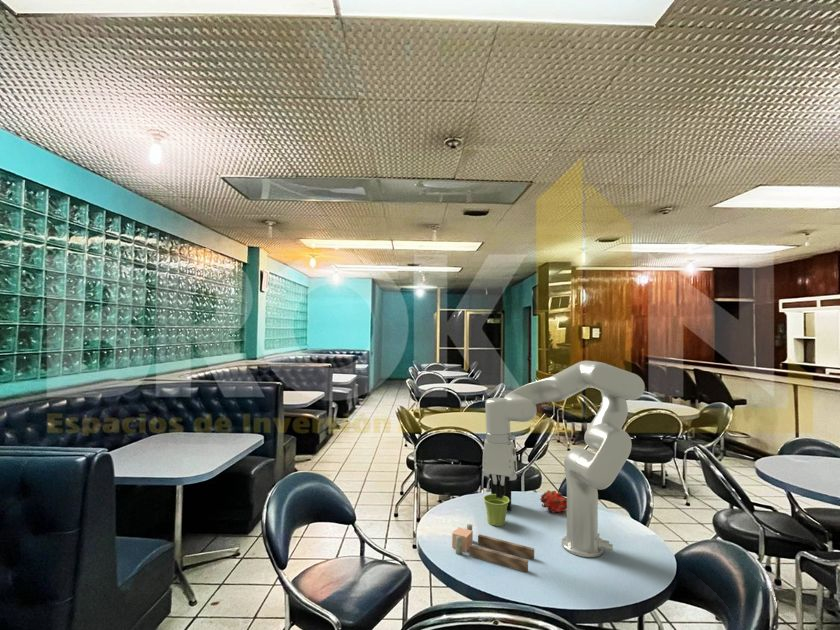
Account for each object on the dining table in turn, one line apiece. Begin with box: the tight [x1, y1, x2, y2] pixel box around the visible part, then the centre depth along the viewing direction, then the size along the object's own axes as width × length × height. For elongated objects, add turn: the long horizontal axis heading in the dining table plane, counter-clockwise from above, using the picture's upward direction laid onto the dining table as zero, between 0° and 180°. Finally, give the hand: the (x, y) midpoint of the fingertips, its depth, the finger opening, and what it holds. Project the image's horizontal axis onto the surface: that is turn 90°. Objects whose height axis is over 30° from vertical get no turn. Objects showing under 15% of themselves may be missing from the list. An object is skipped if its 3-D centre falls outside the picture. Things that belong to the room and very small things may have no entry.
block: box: [451, 526, 474, 552], centre depth 138 cm, size 5×5×4 cm
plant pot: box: [483, 493, 510, 527], centre depth 155 cm, size 9×9×9 cm
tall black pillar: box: [490, 475, 512, 512], centre depth 170 cm, size 8×8×28 cm
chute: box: [455, 524, 535, 573], centre depth 132 cm, size 22×11×5 cm, turn 62°
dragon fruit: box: [539, 490, 567, 514], centre depth 166 cm, size 8×8×12 cm
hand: (500, 496), depth 133 cm, fingers closed
